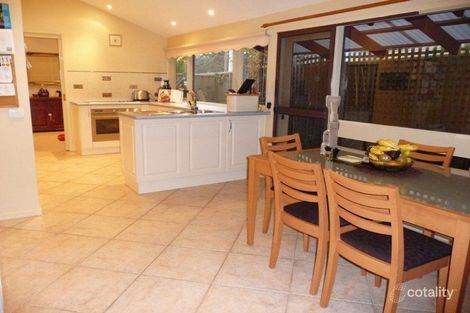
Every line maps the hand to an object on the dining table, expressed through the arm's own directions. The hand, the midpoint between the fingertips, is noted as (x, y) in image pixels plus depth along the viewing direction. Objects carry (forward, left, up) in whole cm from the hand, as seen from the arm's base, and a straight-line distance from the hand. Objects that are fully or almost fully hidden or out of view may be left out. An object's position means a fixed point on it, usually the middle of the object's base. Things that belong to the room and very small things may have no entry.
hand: (331, 157), depth 245 cm
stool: (0, 0, -2) cm, 2 cm away
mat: (+4, +15, -2) cm, 16 cm away
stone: (+21, +16, -2) cm, 26 cm away
